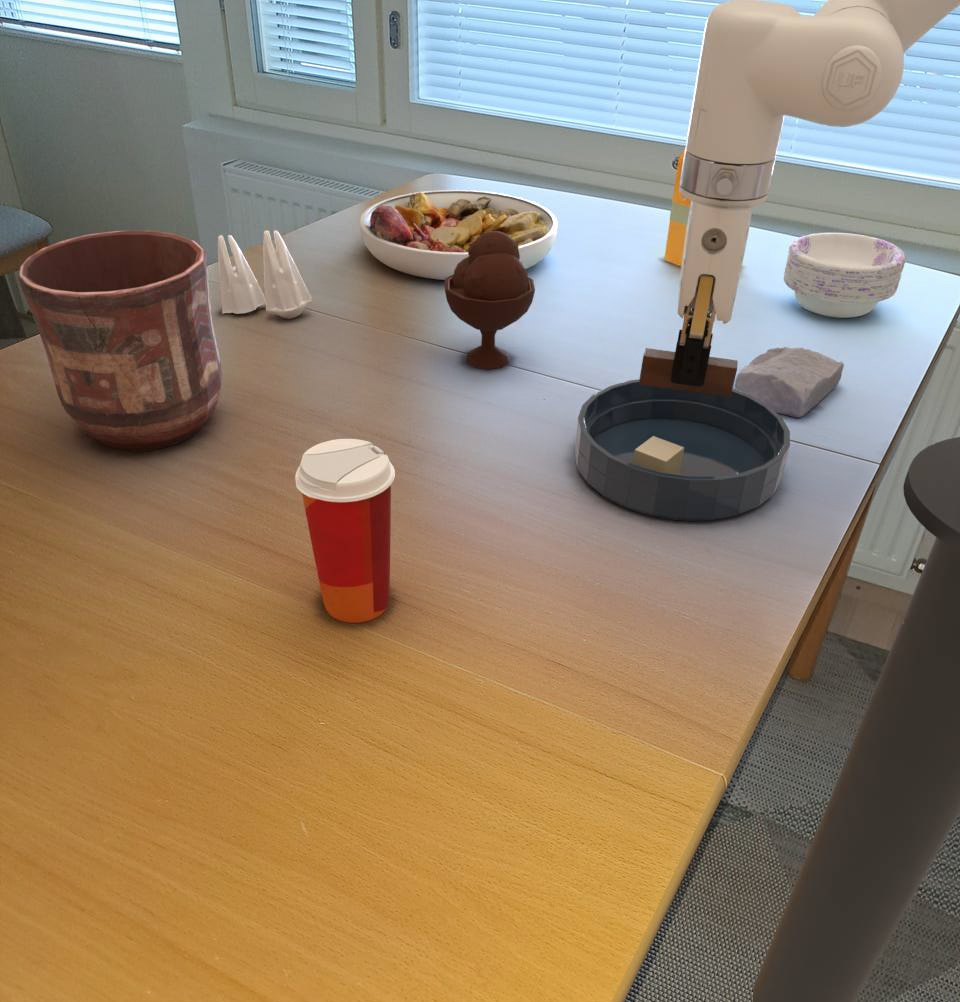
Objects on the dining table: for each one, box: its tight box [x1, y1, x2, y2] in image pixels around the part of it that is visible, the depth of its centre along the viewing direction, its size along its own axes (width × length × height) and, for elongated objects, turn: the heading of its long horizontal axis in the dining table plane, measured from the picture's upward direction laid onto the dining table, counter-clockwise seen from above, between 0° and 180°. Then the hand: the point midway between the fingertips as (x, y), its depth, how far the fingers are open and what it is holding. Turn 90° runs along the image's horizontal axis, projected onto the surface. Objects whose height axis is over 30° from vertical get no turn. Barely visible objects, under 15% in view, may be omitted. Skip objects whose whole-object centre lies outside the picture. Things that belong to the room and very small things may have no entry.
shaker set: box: [217, 229, 313, 319], centre depth 124 cm, size 12×4×11 cm, turn 75°
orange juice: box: [663, 146, 691, 268], centre depth 138 cm, size 8×9×20 cm
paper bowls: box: [783, 232, 907, 319], centre depth 130 cm, size 15×15×8 cm
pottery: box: [17, 230, 223, 452], centre depth 98 cm, size 18×18×18 cm
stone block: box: [734, 346, 845, 419], centre depth 112 cm, size 12×5×10 cm
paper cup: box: [294, 438, 396, 624], centre depth 77 cm, size 8×8×14 cm
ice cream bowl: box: [444, 231, 536, 371], centre depth 113 cm, size 11×11×15 cm
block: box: [633, 436, 684, 475], centre depth 95 cm, size 4×4×4 cm
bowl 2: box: [574, 378, 791, 522], centre depth 98 cm, size 21×21×5 cm
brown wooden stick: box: [639, 347, 739, 397], centre depth 92 cm, size 9×2×3 cm, turn 77°
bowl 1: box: [359, 189, 559, 281], centre depth 144 cm, size 30×30×8 cm
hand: (687, 376), depth 93 cm, fingers closed on brown wooden stick, 2 cm apart
